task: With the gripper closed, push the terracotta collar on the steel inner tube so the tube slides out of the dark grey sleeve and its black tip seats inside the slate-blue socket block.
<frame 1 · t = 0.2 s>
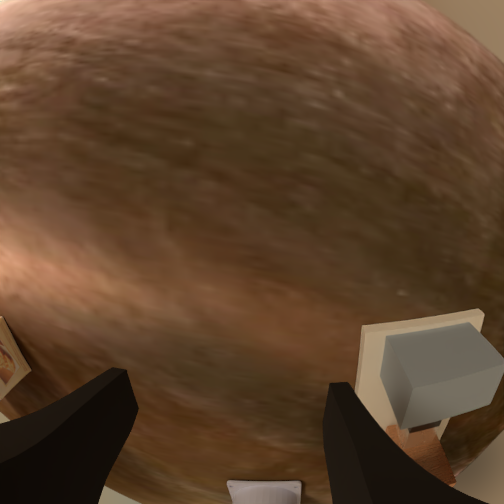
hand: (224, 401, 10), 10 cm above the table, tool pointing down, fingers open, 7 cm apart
socket block: (426, 349, 18), resting on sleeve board
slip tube: (411, 471, 17), point 5 cm above the table, slide at 0.0 cm
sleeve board: (404, 410, 21), on the table
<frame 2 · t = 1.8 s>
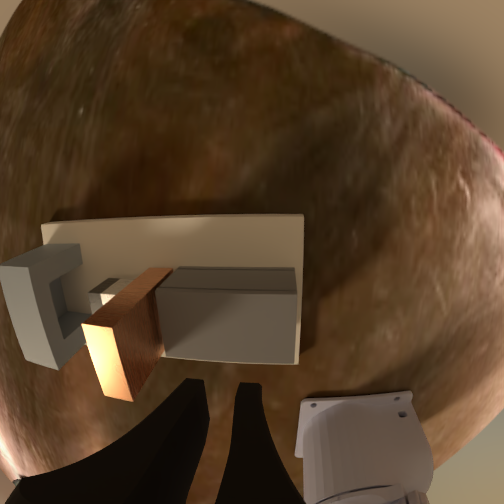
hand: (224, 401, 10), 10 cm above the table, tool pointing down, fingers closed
socket block: (70, 288, 20), resting on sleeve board
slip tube: (172, 328, 15), point 5 cm above the table, slide at 0.0 cm
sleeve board: (159, 288, 20), on the table
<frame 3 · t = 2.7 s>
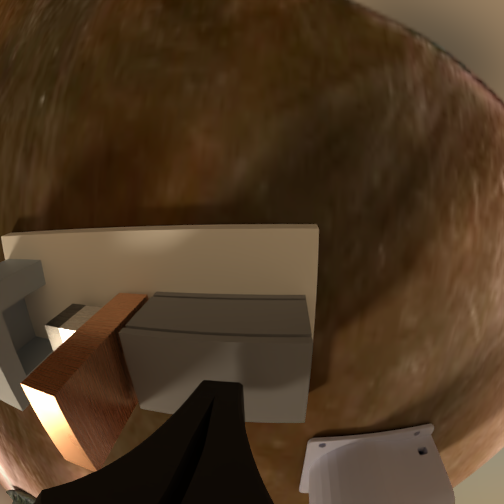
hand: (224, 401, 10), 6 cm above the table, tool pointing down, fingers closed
socket block: (36, 311, 16), resting on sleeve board
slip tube: (144, 380, 11), point 5 cm above the table, slide at 0.0 cm
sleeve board: (135, 315, 16), on the table
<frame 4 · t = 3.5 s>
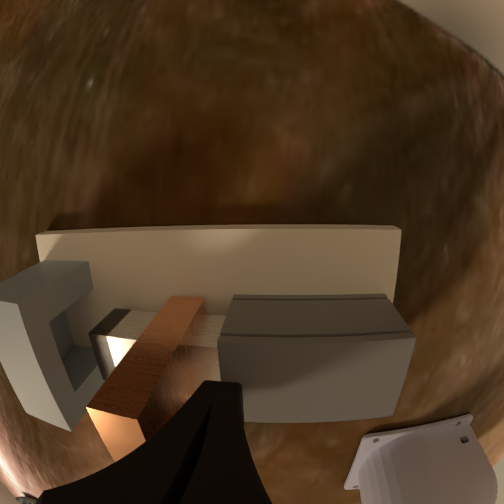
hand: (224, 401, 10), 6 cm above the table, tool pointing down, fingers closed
socket block: (77, 318, 15), resting on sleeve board
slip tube: (214, 388, 10), point 5 cm above the table, slide at 1.0 cm, touching gripper
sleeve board: (200, 320, 15), on the table
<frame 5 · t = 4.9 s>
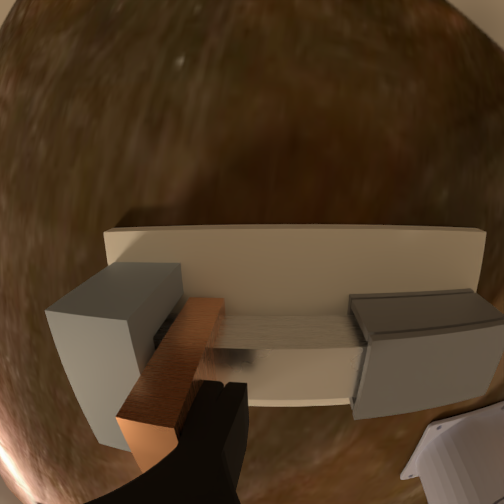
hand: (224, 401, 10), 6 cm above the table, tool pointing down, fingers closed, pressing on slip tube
socket block: (155, 328, 15), resting on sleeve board
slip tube: (240, 390, 10), point 5 cm above the table, slide at 5.3 cm, touching gripper, socket block
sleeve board: (302, 322, 15), on the table
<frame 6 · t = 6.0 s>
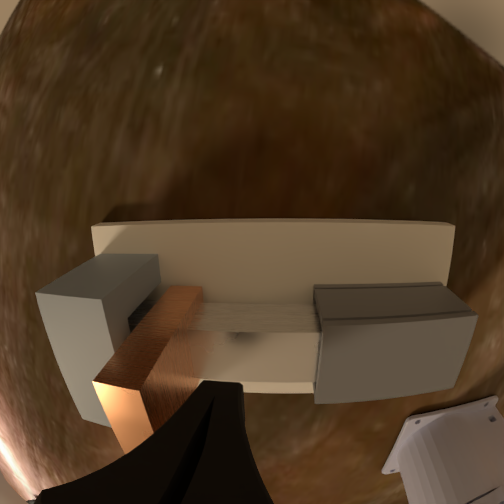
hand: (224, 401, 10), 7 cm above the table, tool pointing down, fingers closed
socket block: (137, 314, 16), resting on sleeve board
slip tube: (210, 369, 11), point 5 cm above the table, slide at 5.0 cm
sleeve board: (272, 311, 16), on the table
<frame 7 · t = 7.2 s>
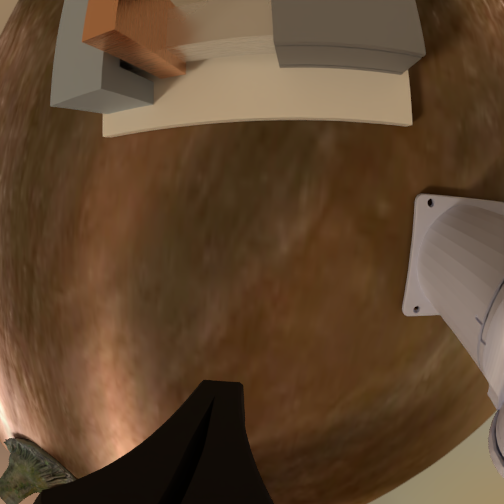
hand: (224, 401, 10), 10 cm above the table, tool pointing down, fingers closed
socket block: (130, 60, 15), resting on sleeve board
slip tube: (179, 16, 11), point 5 cm above the table, slide at 5.0 cm
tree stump: (44, 462, 40), on the table
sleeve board: (246, 45, 15), on the table
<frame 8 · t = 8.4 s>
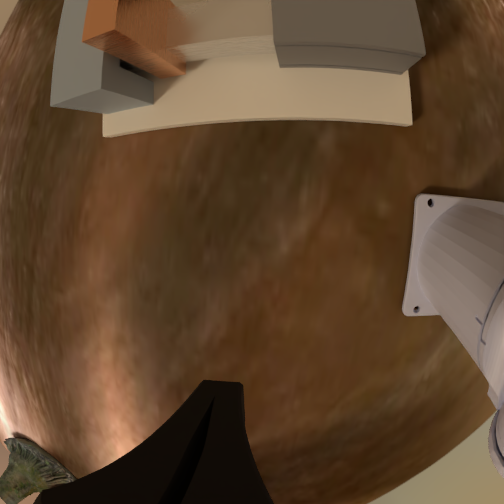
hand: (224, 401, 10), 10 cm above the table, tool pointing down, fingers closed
socket block: (130, 60, 15), resting on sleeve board
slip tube: (179, 16, 11), point 5 cm above the table, slide at 5.0 cm
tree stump: (44, 462, 40), on the table
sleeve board: (246, 45, 15), on the table
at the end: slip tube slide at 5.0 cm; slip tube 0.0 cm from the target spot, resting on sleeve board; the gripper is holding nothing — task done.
